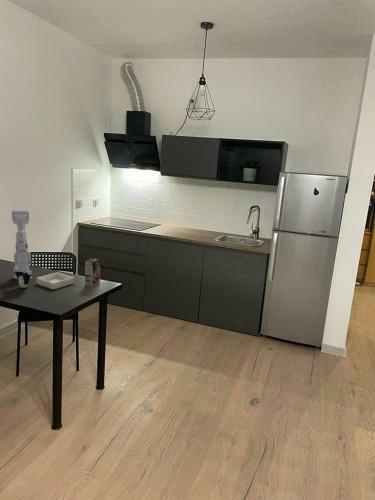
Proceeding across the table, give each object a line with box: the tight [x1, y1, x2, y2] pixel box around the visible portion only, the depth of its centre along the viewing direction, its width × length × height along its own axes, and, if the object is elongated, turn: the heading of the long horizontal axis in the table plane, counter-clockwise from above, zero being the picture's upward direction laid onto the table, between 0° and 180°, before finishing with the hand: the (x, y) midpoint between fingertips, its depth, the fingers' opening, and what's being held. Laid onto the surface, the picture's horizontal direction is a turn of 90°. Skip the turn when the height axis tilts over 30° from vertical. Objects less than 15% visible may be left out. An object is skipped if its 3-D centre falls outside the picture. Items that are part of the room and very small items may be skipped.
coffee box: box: [84, 257, 101, 288], centre depth 232 cm, size 9×6×16 cm
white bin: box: [36, 272, 75, 291], centre depth 230 cm, size 16×16×4 cm
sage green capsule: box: [18, 276, 29, 288], centre depth 219 cm, size 5×5×6 cm
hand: (23, 283), depth 220 cm, fingers closed on sage green capsule, 5 cm apart
